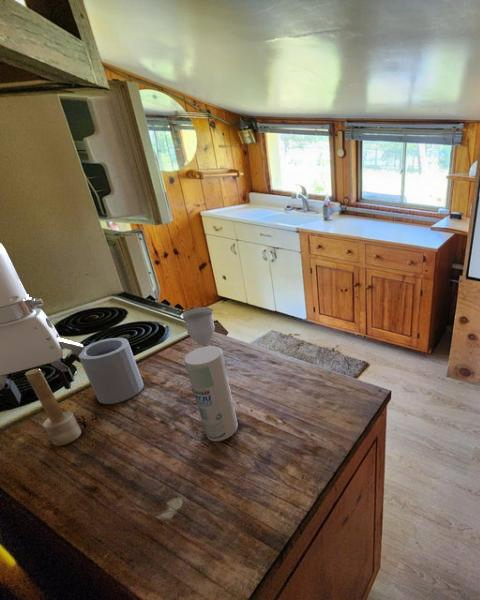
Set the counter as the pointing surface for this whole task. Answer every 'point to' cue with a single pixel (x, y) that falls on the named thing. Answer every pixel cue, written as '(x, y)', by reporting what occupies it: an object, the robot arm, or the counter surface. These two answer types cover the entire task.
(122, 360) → the cup
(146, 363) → the counter surface
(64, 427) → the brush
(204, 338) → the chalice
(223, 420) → the spray can
